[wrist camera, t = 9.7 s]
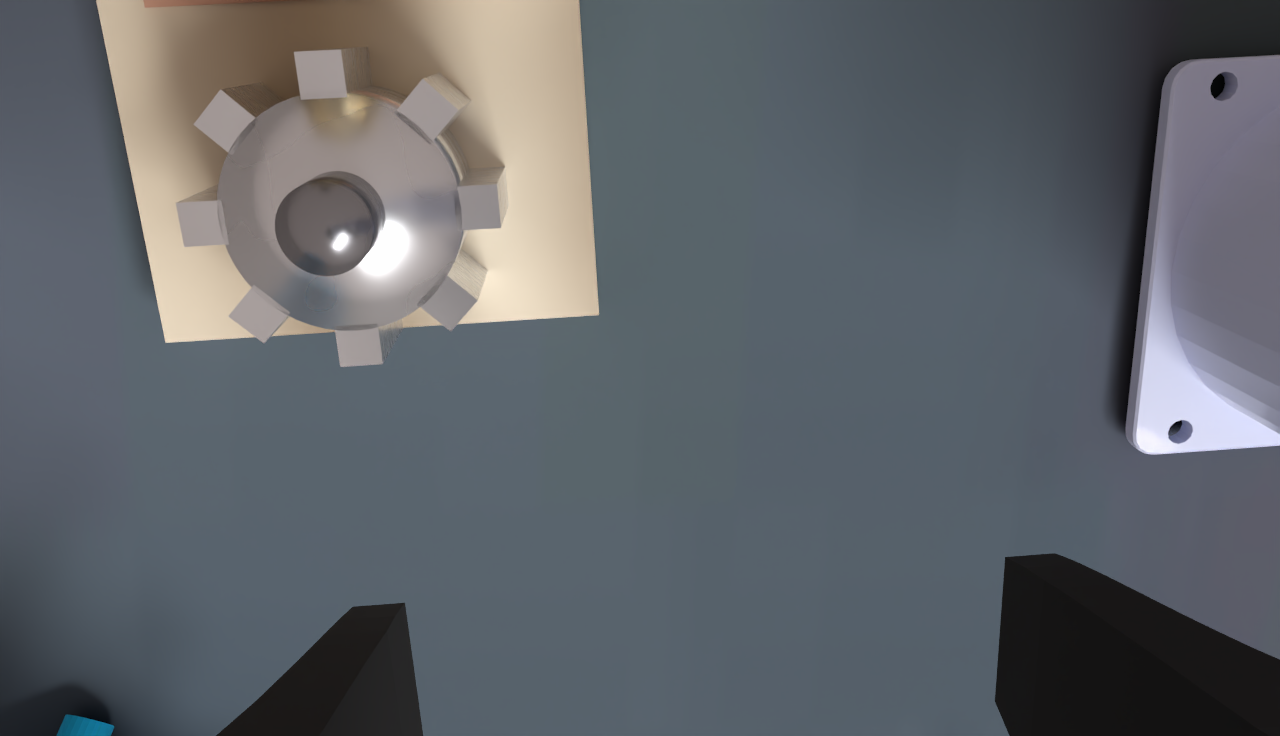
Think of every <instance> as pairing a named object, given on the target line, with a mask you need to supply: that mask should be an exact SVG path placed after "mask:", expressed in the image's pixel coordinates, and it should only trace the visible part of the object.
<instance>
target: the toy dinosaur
mask: <svg viewBox="0 0 1280 736" xmlns="http://www.w3.org/2000/svg"><path fill="white" fill-rule="evenodd" d="M113 729H114V726H113V725H110V724H107V723H104V722H100V721H96V720H92V719H88V718H84V717H79V716H74V715H65V717H64V720H63V722H62V724H61V726H60V729H59V731H58V733H57V736H111V734H112V732H113Z"/></svg>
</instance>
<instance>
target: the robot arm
mask: <svg viewBox="0 0 1280 736" xmlns="http://www.w3.org/2000/svg"><path fill="white" fill-rule="evenodd" d="M1220 73H1221V74H1222V75H1223V76H1224V78H1225V87H1224V89H1223V92H1222V93H1221V94H1220V95H1219V96H1218V97H1217V98H1214V97H1213V96H1212V95H1211V90H1210V86H1211V84H1212V81H1213V79H1214V78H1215V77H1216V76H1217V75H1218V74H1220ZM1180 420H1182V426H1181V428H1180V430H1179V431H1178V432H1177V433H1176V434H1175V435H1172V436H1168V431H1169V429H1170V427H1171V426H1172V425H1173V424H1174V423H1175V422H1177V421H1180ZM1125 430H1126V438H1127V439H1128V441H1129V442H1130V444H1131V445H1133V446H1134V447H1135V448H1137V449H1138V450H1140V451H1141V452H1143V453H1145V454H1153V455H1155V454H1168V453H1182V452H1196V451H1210V450H1224V449H1238V448H1252V447H1266V446H1280V55H1265V56H1247V57H1228V58H1210V59H1191V60H1187V61H1183V62H1180V63H1179V64H1177V65H1176V66H1175V67H1173V68H1172V69H1171V70H1170V72H1169V73H1168V75H1167V76H1166V77H1165V80H1164V84H1163V87H1162V95H1161V104H1160V113H1159V123H1158V132H1157V141H1156V150H1155V160H1154V169H1153V178H1152V187H1151V197H1150V206H1149V215H1148V224H1147V234H1146V243H1145V252H1144V261H1143V271H1142V280H1141V289H1140V298H1139V308H1138V317H1137V326H1136V335H1135V345H1134V354H1133V363H1132V372H1131V382H1130V391H1129V400H1128V409H1127V419H1126V428H1125ZM995 702H996V705H997V707H998V709H999V712H1000V714H1001V717H1002V719H1003V721H1004V724H1005V726H1006V728H1007V731H1008V733H1009V735H1010V736H1280V660H1279V659H1277V658H1275V657H1272V656H1270V655H1268V654H1265V653H1263V652H1261V651H1259V650H1256V649H1254V648H1252V647H1250V646H1247V645H1245V644H1243V643H1241V642H1239V641H1237V640H1235V639H1233V638H1230V637H1228V636H1226V635H1224V634H1222V633H1220V632H1218V631H1216V630H1214V629H1211V628H1209V627H1207V626H1205V625H1203V624H1201V623H1199V622H1197V621H1195V620H1193V619H1191V618H1189V617H1187V616H1185V615H1183V614H1181V613H1179V612H1177V611H1175V610H1173V609H1171V608H1169V607H1167V606H1165V605H1163V604H1161V603H1159V602H1157V601H1155V600H1153V599H1151V598H1149V597H1147V596H1145V595H1143V594H1141V593H1139V592H1137V591H1135V590H1133V589H1131V588H1129V587H1127V586H1125V585H1123V584H1121V583H1119V582H1117V581H1115V580H1113V579H1111V578H1109V577H1107V576H1105V575H1103V574H1101V573H1099V572H1097V571H1095V570H1093V569H1091V568H1089V567H1086V566H1084V565H1082V564H1080V563H1078V562H1075V561H1073V560H1071V559H1068V558H1066V557H1063V556H1060V555H1058V554H1055V553H1054V554H1041V555H1028V556H1015V557H1005V569H1004V583H1003V597H1002V611H1001V625H1000V639H999V653H998V667H997V681H996V695H995ZM216 736H423V731H422V724H421V717H420V710H419V702H418V695H417V688H416V680H415V673H414V666H413V659H412V651H411V644H410V637H409V630H408V622H407V615H406V608H405V603H397V604H384V605H371V606H358V607H352V608H351V609H350V610H349V611H348V612H347V613H346V614H344V615H343V616H342V617H341V618H340V619H339V620H338V621H337V622H336V623H335V624H334V625H333V626H332V627H331V628H330V629H329V630H328V631H327V632H326V633H325V634H324V635H323V636H322V637H321V638H320V639H319V640H318V641H317V642H316V643H315V644H314V645H313V646H312V647H311V648H310V649H309V650H308V651H307V652H306V653H305V654H304V655H303V656H302V657H301V658H300V659H299V660H298V661H297V662H296V663H295V664H294V665H293V666H292V667H291V668H290V669H289V670H288V671H287V672H286V673H285V674H284V675H283V676H282V677H281V678H279V679H278V680H277V681H276V682H275V683H274V684H273V685H272V686H271V687H270V688H269V689H268V690H267V691H266V692H265V693H264V694H263V695H262V696H261V697H260V698H259V699H258V700H257V701H255V702H254V703H253V704H252V705H251V706H250V707H249V708H247V709H246V710H245V711H244V712H243V713H242V714H241V715H239V716H238V717H237V718H236V719H235V720H234V721H233V722H231V723H230V724H229V725H228V726H227V727H226V728H224V729H223V730H222V731H221V732H220V733H219V734H218V735H216Z"/></svg>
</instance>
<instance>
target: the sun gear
mask: <svg viewBox="0 0 1280 736" xmlns="http://www.w3.org/2000/svg"><path fill="white" fill-rule="evenodd" d="M294 57H295V63H296V70H297V77H298V84H299V90H300V96H296V97H292V98H290V99H287V100H285V101H284V100H283V99H281V98H280V97H279V96H278V95H277V94H275V93H274V92H273V91H272V90H271V89H269V88H268V87H267V86H266V85H265V84H263V83H262V82H259V83H253V84H248V85H242V86H236V87H231V88H225V89H220V91H219V92H218V93H217V95H216V96H215V97H214V98H213V100H212V101H211V102H210V104H209V105H208V106H207V107H206V109H205V110H204V111H203V113H202V114H201V115H200V117H199V118H198V119H197V120H196V122H195V123H194V124H193V125H195V126H196V127H197V128H198V129H200V130H201V131H202V132H203V133H204V134H206V135H207V136H208V137H209V138H211V139H212V140H213V141H214V142H216V143H217V144H218V145H219V146H221V147H222V148H223V149H224V150H226V151H227V152H228V155H227V157H226V159H225V161H224V164H223V167H222V170H221V174H220V178H219V184H217V185H215V186H213V187H210V188H208V189H206V190H204V191H201V192H199V193H197V194H195V195H192V196H190V197H188V198H186V199H183V200H181V201H179V202H177V203H176V207H177V212H178V218H179V223H180V228H181V233H182V239H183V244H184V247H193V246H210V245H225V246H226V249H227V251H228V254H229V255H230V257H231V259H232V261H233V263H234V265H235V267H236V268H237V270H238V271H239V272H240V274H241V275H242V277H243V278H244V279H245V281H246V282H247V283H248V284H249V285H250V286H251V287H252V288H251V289H250V290H249V291H248V293H247V294H246V295H245V296H244V298H243V299H242V300H241V301H240V302H239V304H238V305H237V306H236V307H235V309H234V310H233V311H232V312H231V313H230V315H229V316H228V317H230V318H231V319H232V320H234V321H235V322H236V323H238V324H239V325H240V326H242V327H243V328H244V329H246V330H247V331H248V332H250V333H251V334H252V335H254V336H255V337H256V338H258V339H259V340H260V341H261V342H263V343H265V342H266V341H267V340H268V339H269V338H270V337H271V336H272V335H273V334H274V333H275V332H276V331H277V330H278V329H279V328H280V327H281V326H282V325H283V323H284V322H285V321H286V320H287V319H288V318H289V317H292V318H294V319H296V320H298V321H301V322H304V323H306V324H309V325H312V326H316V327H320V328H324V329H331V330H335V334H336V340H337V347H338V354H339V361H340V367H346V366H361V365H376V364H383V363H384V361H385V360H386V358H387V356H388V354H389V352H390V351H391V349H392V347H393V345H394V343H395V342H396V340H397V338H398V336H399V334H400V333H401V331H402V329H403V321H402V318H404V317H406V316H407V315H409V314H411V313H413V312H414V311H415V310H417V309H418V308H419V307H421V308H422V309H423V310H425V311H426V312H427V313H428V314H430V315H431V316H432V317H433V318H435V319H436V320H437V321H438V322H440V323H441V324H442V325H443V326H444V327H446V328H447V329H448V330H449V331H452V329H453V328H454V327H455V326H456V325H457V324H458V323H459V321H460V320H461V319H462V318H463V317H464V316H465V315H466V314H467V312H468V311H469V310H470V309H471V308H472V307H473V306H474V304H475V303H476V302H477V301H478V299H479V296H480V293H481V290H482V287H483V284H484V281H485V278H486V275H487V272H488V270H487V269H486V268H484V267H483V266H482V265H481V264H480V263H478V262H477V261H476V260H475V259H474V258H472V257H471V256H470V255H469V254H468V253H466V252H465V251H464V250H463V249H462V246H463V244H464V242H465V239H466V237H467V234H468V231H469V230H477V229H494V228H501V227H502V224H503V221H504V218H505V215H506V212H507V209H508V206H509V202H508V191H507V180H506V169H505V167H488V168H471V169H469V165H468V162H467V159H466V157H465V155H464V153H463V150H462V148H461V146H460V145H459V143H458V141H457V140H456V138H455V136H454V135H453V133H452V132H451V131H450V130H449V127H450V126H451V124H452V123H453V122H454V121H455V120H456V118H457V117H458V116H459V115H460V114H461V112H462V111H463V110H464V109H465V108H466V106H467V105H468V104H469V103H470V102H471V100H470V99H469V98H468V97H467V96H466V95H465V94H464V93H462V92H461V91H460V90H459V89H458V88H457V87H456V86H454V85H453V84H452V83H451V82H450V81H449V80H448V79H447V78H445V77H444V76H443V75H442V74H441V73H437V74H434V75H432V76H429V77H426V78H423V79H422V80H421V81H420V82H419V84H418V85H417V86H416V87H415V88H414V90H413V91H412V92H411V93H410V95H409V96H407V95H405V94H402V93H400V92H398V91H395V90H392V89H388V88H385V87H381V86H374V85H373V83H372V75H371V67H370V59H369V51H368V47H354V48H335V49H320V50H309V51H297V52H294Z"/></svg>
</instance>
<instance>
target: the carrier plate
mask: <svg viewBox="0 0 1280 736" xmlns="http://www.w3.org/2000/svg"><path fill="white" fill-rule="evenodd" d="M96 2H97V7H98V12H99V17H100V22H101V27H102V32H103V36H104V41H105V46H106V51H107V56H108V61H109V66H110V71H111V76H112V81H113V86H114V91H115V96H116V101H117V105H118V110H119V115H120V120H121V125H122V130H123V135H124V140H125V145H126V150H127V155H128V160H129V165H130V169H131V174H132V179H133V184H134V189H135V194H136V199H137V204H138V209H139V214H140V219H141V224H142V229H143V234H144V238H145V243H146V248H147V253H148V258H149V263H150V268H151V273H152V278H153V283H154V288H155V293H156V298H157V302H158V307H159V312H160V317H161V322H162V327H163V332H164V337H165V342H166V343H169V342H185V341H201V340H216V339H232V338H247V337H255V336H254V335H252V334H251V333H250V332H248V331H247V330H246V329H244V328H243V327H242V326H240V325H239V324H238V323H236V322H235V321H234V320H232V319H231V318H230V317H228V316H229V315H230V313H231V312H232V311H233V310H234V309H235V307H236V306H237V305H238V304H239V302H240V301H241V300H242V299H243V298H244V296H245V295H246V294H247V293H248V291H249V290H250V289H251V288H252V287H251V286H250V285H249V284H248V283H247V282H246V281H245V279H244V278H243V277H242V275H241V274H240V272H239V271H238V270H237V268H236V267H235V265H234V263H233V261H232V259H231V257H230V255H229V254H228V251H227V249H226V246H225V245H210V246H193V247H184V244H183V239H182V233H181V228H180V223H179V218H178V212H177V207H176V203H177V202H179V201H181V200H183V199H186V198H188V197H190V196H192V195H195V194H197V193H199V192H201V191H204V190H206V189H208V188H210V187H213V186H215V185H217V184H219V178H220V174H221V170H222V167H223V164H224V161H225V159H226V157H227V155H228V152H227V151H226V150H224V149H223V148H222V147H221V146H219V145H218V144H217V143H216V142H214V141H213V140H212V139H211V138H209V137H208V136H207V135H206V134H204V133H203V132H202V131H201V130H200V129H198V128H197V127H196V126H195V125H193V124H194V123H195V122H196V120H197V119H198V118H199V117H200V115H201V114H202V113H203V111H204V110H205V109H206V107H207V106H208V105H209V104H210V102H211V101H212V100H213V98H214V97H215V96H216V95H217V93H218V92H219V91H220V89H225V88H231V87H236V86H242V85H248V84H253V83H259V82H262V83H263V84H265V85H266V86H267V87H268V88H269V89H271V90H272V91H273V92H274V93H275V94H277V95H278V96H279V97H280V98H281V99H283V100H284V101H285V100H287V99H290V98H292V97H296V96H300V90H299V84H298V77H297V70H296V63H295V57H294V52H297V51H309V50H320V49H335V48H354V47H368V51H369V59H370V67H371V75H372V83H373V85H374V86H381V87H385V88H388V89H392V90H395V91H398V92H400V93H402V94H405V95H407V96H409V95H410V93H411V92H412V91H413V90H414V88H415V87H416V86H417V85H418V84H419V82H420V81H421V80H422V79H423V78H426V77H429V76H432V75H434V74H437V73H441V74H442V75H443V76H444V77H445V78H447V79H448V80H449V81H450V82H451V83H452V84H453V85H454V86H456V87H457V88H458V89H459V90H460V91H461V92H462V93H464V94H465V95H466V96H467V97H468V98H469V99H470V100H471V102H470V103H469V104H468V105H467V106H466V108H465V109H464V110H463V111H462V112H461V114H460V115H459V116H458V117H457V118H456V120H455V121H454V122H453V123H452V124H451V126H450V127H449V130H450V131H451V132H452V133H453V135H454V136H455V138H456V140H457V141H458V143H459V145H460V146H461V148H462V150H463V153H464V155H465V157H466V159H467V162H468V165H469V169H471V168H488V167H505V169H506V180H507V191H508V202H509V206H508V209H507V212H506V215H505V218H504V221H503V224H502V227H501V228H494V229H477V230H469V231H468V234H467V237H466V239H465V242H464V244H463V246H462V249H463V250H464V251H465V252H466V253H468V254H469V255H470V256H471V257H472V258H474V259H475V260H476V261H477V262H478V263H480V264H481V265H482V266H483V267H484V268H486V269H487V270H488V272H487V275H486V278H485V281H484V284H483V287H482V290H481V293H480V296H479V299H478V301H477V302H476V303H475V304H474V306H473V307H472V308H471V309H470V310H469V311H468V312H467V314H466V315H465V316H464V317H463V318H462V319H461V320H460V321H459V323H458V324H466V323H482V322H498V321H513V320H529V319H544V318H560V317H576V316H591V315H599V308H598V292H597V276H596V260H595V245H594V229H593V213H592V197H591V181H590V166H589V150H588V134H587V118H586V103H585V87H584V71H583V55H582V39H581V24H580V8H579V0H96ZM402 321H403V328H404V327H419V326H435V325H442V324H441V323H440V322H438V321H437V320H436V319H435V318H433V317H432V316H431V315H430V314H428V313H427V312H426V311H425V310H423V309H422V308H421V307H419V308H418V309H417V310H415V311H414V312H413V313H411V314H409V315H407V316H406V317H404V318H402ZM326 332H335V330H331V329H324V328H320V327H316V326H312V325H309V324H306V323H304V322H301V321H298V320H296V319H294V318H292V317H289V318H288V319H287V320H286V321H285V322H284V323H283V325H282V326H281V327H280V328H279V329H278V330H277V331H276V332H275V333H274V334H273V335H272V336H279V335H294V334H310V333H326Z"/></svg>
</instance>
